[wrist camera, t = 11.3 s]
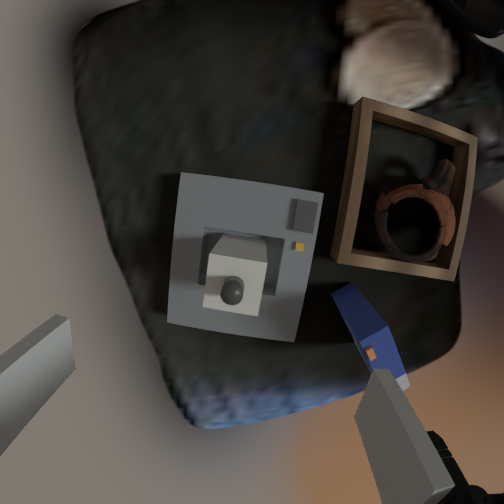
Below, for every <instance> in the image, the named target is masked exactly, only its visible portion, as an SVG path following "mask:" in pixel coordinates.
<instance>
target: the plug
mask: <svg viewBox="0 0 504 504" xmlns="http://www.w3.org/2000/svg"><path fill="white" fill-rule="evenodd" d="M267 263H268V262H267V248H266V239H260V238H254V237H248V236H242V235H236V234H230V233H224V234H223V236H222V237H221V238H220V240H219V241H218V242H217V244H216V245H215V246H214V248H213V249H212V251H211V252H210V253H209V260H208V268H207V276H206V283H205V292H204V300H203V307H206V308H211V309H217V310H222V311H228V312H234V313H240V314H246V315H252V316H258V312H259V307H260V301H261V296H262V291H263V285H264V280H265V274H266V269H267Z"/></svg>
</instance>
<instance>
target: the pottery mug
mask: <svg viewBox="0 0 504 504" xmlns="http://www.w3.org/2000/svg"><path fill="white" fill-rule="evenodd" d="M455 171H456V170H455V167H454V165H453V164H452V162H451V161H449V160H447V159H443V160H440V161H439V162H438V164H437V166H436V168H435V170H434V171H433V173H432V174H431V175H430V176H428V177H424V178H422V180H421V182H422V183H423V184H425V185H426V186H427V187H428V188H429V189H428V190H426V189H424V188H423V185H422V184H411V185H405V186H402V187H399V188H396V189H394V190H392V191H391V192H389V193H388V194H387V195H386V193H385V191H383V192H381V194H380V196H379V198H378V200H377V202H376V205H375V207H376V209H375V211H374V218H375V225H376V229H377V233H378V236H379V238H380V240H381V242H382V243H383V244H385V246H386V248H387V250H388V251H389V252H390V253H391V254H393V255H394V256H396V257H397V258H399V259H401V260H402V261H406V262H422V261H431V260H432V259H434V258H436V257H437V254H438V251H439V249H440V248H441V245H442V244H443V245H445V246H448V244H449V243H450V241H451V239H452V237H453V234H454V231H455V211H454V207H453V204H452V202H451V200H450V199H449V192H450V188H451V185H452V181H453V176H454V173H455ZM407 197H417V198H420V199H424V200H425V201H427V202H428V203H429V204H430V205H431V206H432V207H433V208H434V209H435V211H436V213H437V215H438V218H439V223H440V229H439V231H438V233H437V234H436V235H435V238H436V242H435V243H434V245H433V246H432V247H431V248H429V249H428V250H426V251H424V252H421V253H417V254H412V253H407V252H405V251H403V250H401V249H399V248H398V247H397V246H396V245H395V244H394V243H393V242H392V240H391V238H390V236H389V233H388V230H387V217H388V212H387V209H388V208H389V206H390V204H391V203H393V204H395V203H397V202H398V201H399V200H401V199H404V198H407Z"/></svg>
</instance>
